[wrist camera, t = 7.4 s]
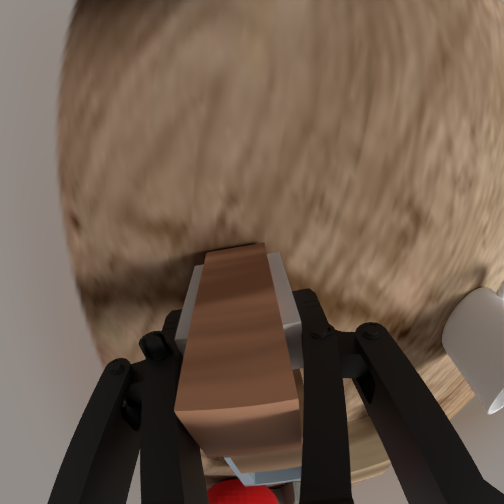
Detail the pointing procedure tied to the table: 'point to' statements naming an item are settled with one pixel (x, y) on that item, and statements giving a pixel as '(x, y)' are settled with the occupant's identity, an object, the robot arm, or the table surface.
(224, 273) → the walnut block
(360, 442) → the oak block
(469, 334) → the cup
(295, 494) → the digital clock
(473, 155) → the table surface
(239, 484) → the tomato
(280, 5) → the table surface
